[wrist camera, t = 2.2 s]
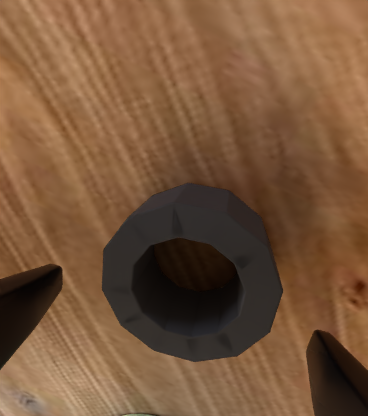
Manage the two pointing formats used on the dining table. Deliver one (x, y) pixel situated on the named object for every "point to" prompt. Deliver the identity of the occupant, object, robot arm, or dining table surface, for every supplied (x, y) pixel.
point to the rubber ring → (185, 298)
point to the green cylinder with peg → (137, 415)
